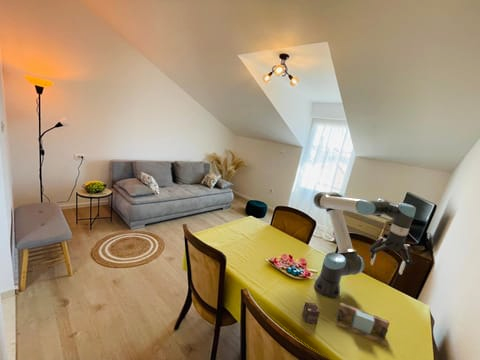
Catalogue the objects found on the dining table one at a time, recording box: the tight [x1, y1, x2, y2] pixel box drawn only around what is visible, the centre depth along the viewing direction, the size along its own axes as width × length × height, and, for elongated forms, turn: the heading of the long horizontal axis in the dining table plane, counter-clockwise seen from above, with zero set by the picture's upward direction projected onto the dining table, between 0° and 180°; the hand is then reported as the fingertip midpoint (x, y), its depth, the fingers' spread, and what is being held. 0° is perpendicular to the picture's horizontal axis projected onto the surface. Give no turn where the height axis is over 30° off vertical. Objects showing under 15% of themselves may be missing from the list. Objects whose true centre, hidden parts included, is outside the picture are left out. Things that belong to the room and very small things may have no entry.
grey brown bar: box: [335, 301, 391, 347], centre depth 116 cm, size 23×8×8 cm, turn 69°
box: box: [302, 301, 321, 325], centre depth 118 cm, size 6×6×7 cm
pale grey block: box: [350, 310, 375, 335], centre depth 115 cm, size 8×4×9 cm, turn 69°
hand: (385, 268), depth 123 cm, fingers open, 13 cm apart
